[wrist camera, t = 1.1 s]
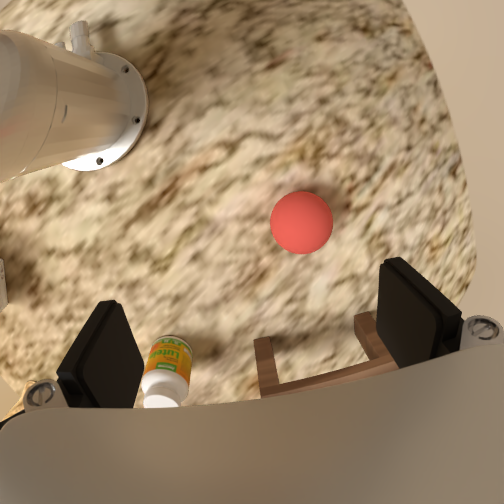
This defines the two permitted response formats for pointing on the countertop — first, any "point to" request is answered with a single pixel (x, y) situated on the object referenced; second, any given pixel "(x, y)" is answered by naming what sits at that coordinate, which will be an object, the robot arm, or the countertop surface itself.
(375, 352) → the bridge
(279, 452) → the robot arm
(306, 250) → the ball
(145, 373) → the supplement bottle
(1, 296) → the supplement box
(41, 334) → the countertop surface
